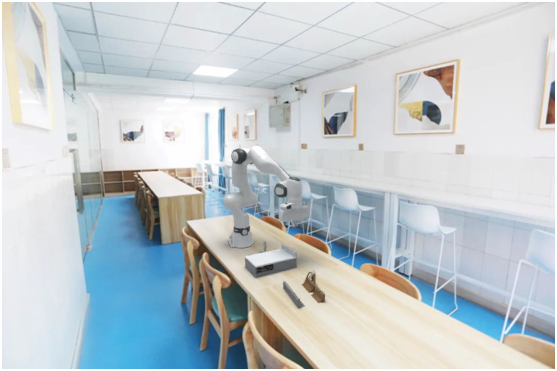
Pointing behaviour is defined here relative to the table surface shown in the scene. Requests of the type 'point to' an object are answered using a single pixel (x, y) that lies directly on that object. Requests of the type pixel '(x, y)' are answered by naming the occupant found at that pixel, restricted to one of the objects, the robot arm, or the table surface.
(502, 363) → the table surface
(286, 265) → the housing
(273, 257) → the lid
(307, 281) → the skate ramp
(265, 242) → the electronic device
